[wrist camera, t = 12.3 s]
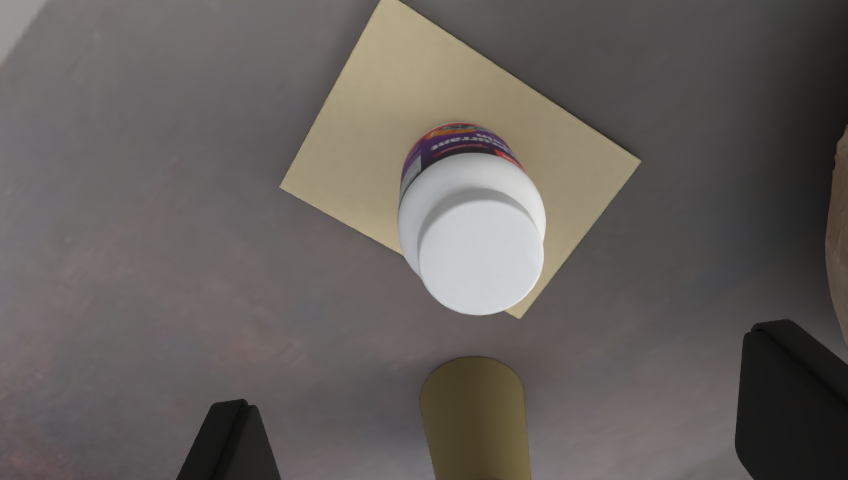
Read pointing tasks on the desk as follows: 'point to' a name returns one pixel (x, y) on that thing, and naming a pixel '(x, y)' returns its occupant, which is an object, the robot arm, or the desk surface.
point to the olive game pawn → (476, 421)
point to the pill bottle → (470, 219)
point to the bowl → (839, 236)
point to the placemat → (438, 104)
